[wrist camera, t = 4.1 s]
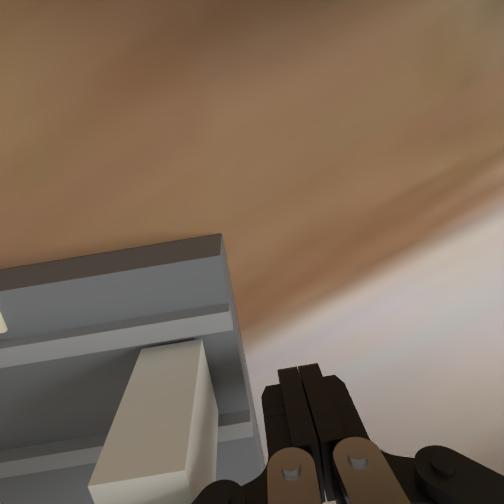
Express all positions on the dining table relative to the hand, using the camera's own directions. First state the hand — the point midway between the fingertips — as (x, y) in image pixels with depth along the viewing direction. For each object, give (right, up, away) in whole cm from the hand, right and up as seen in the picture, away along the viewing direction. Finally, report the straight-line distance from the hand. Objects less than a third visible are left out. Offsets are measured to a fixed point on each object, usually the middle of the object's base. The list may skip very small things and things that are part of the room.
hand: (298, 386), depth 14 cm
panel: (-7, -9, +8) cm, 14 cm away
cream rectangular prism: (-5, 0, +2) cm, 5 cm away
